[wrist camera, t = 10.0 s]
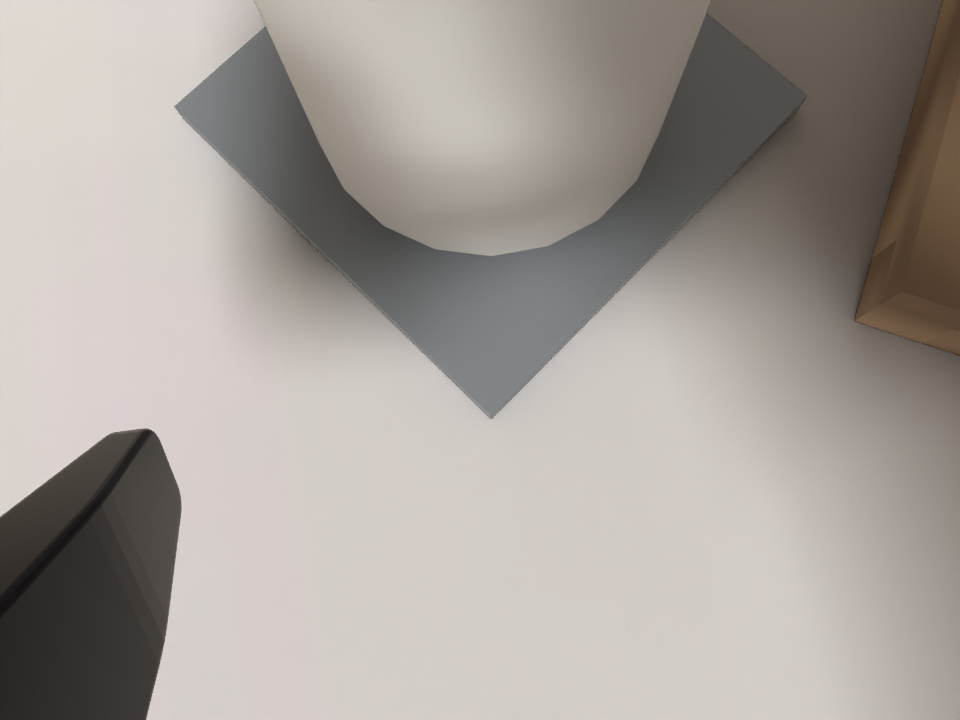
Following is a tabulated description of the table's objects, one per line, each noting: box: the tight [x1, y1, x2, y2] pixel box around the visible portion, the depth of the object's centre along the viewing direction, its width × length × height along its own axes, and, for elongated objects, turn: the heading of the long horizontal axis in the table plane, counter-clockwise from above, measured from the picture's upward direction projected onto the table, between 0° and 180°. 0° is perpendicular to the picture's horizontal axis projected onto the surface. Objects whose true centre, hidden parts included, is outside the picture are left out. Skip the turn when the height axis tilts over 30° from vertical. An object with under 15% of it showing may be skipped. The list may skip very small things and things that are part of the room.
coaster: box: [174, 13, 807, 419], centre depth 19 cm, size 10×10×1 cm
